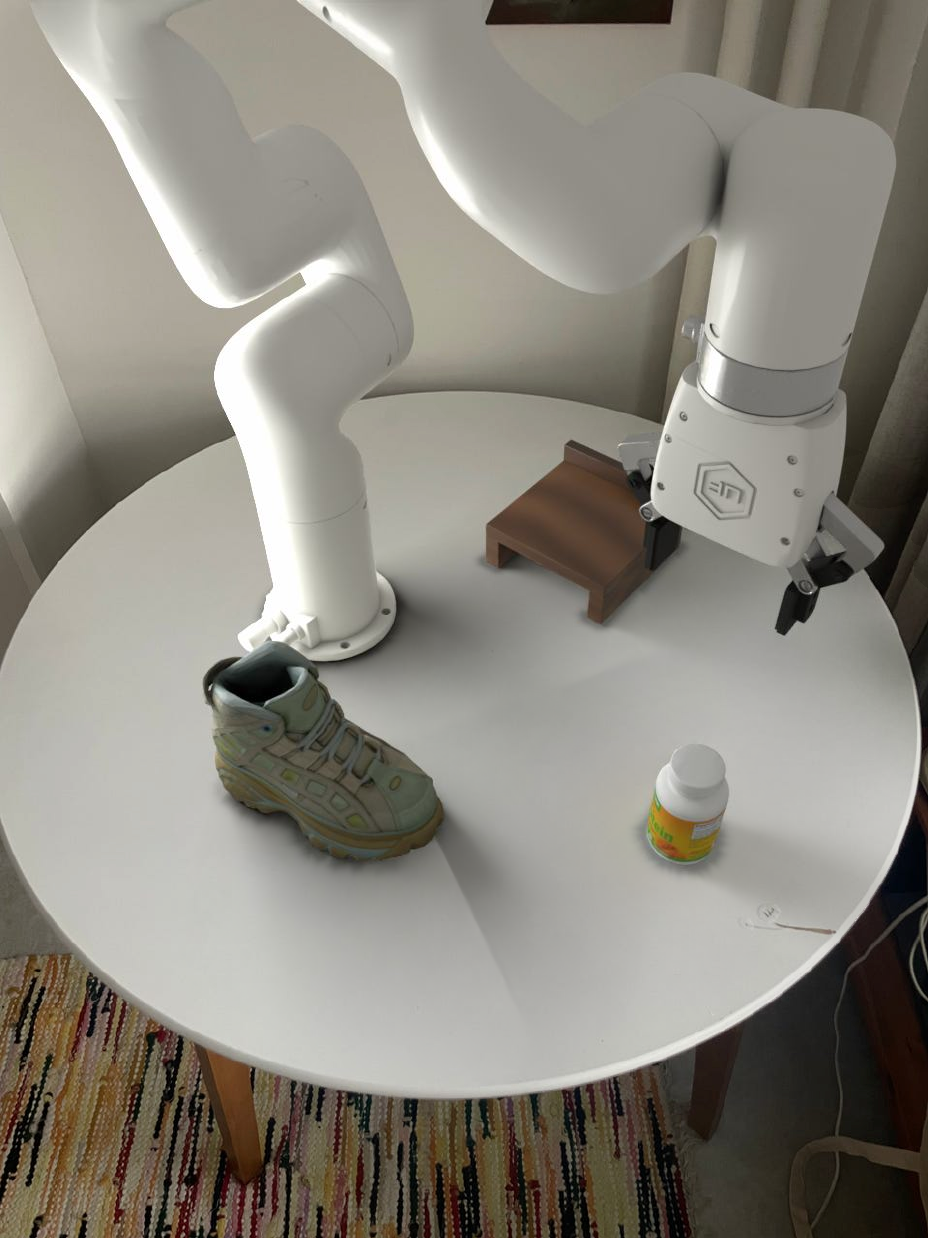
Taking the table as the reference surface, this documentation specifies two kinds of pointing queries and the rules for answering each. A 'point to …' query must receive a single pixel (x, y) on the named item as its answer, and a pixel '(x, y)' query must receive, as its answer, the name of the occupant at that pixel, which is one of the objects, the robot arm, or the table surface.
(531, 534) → the shelf
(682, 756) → the supplement bottle
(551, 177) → the robot arm
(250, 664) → the sneaker
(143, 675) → the table surface
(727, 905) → the table surface
